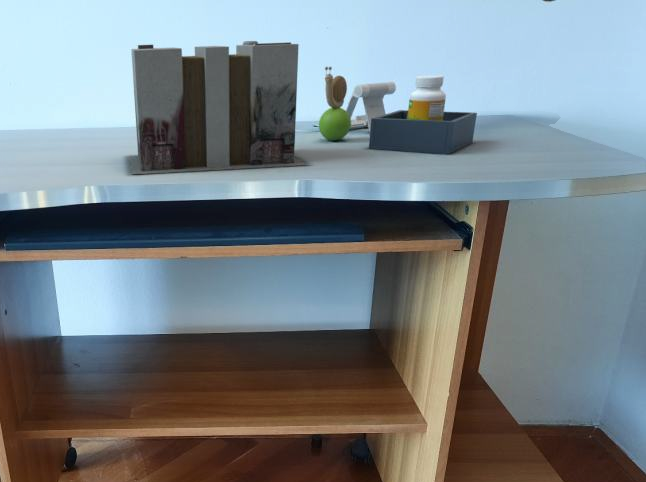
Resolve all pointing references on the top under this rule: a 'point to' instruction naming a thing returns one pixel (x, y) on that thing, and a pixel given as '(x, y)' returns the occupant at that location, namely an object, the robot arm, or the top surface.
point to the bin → (422, 132)
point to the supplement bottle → (427, 99)
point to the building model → (215, 107)
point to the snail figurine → (335, 109)
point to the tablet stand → (369, 102)
